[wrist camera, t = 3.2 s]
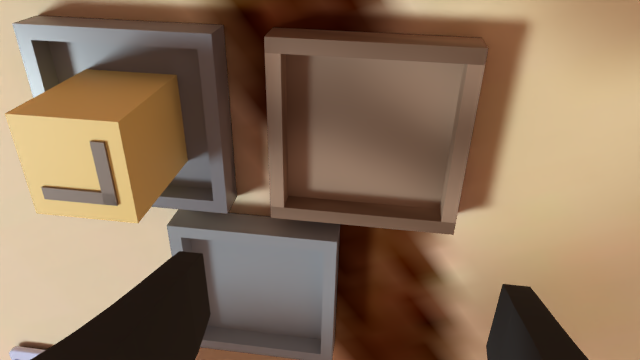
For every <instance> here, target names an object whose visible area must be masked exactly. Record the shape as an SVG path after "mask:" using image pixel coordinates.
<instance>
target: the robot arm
mask: <svg viewBox="0 0 640 360" xmlns="http://www.w3.org/2000/svg"><path fill="white" fill-rule="evenodd" d="M210 315H211V313H210V305H209V298H208V290H207V282H206V274H205V266H204V258H203V253H194V252H184V251H179V252H178V253H176V254H175V255H174V256H173V257H171V258H170V259H169V260H168V261H166V262H165V263H164V264H163V265H161V266H160V267H159V268H158V269H156V270H155V271H154V272H153V273H152V274H150V275H149V276H148V277H147V278H145V279H144V280H143V281H142V282H141V283H139V284H138V285H137V286H136V287H134V288H133V289H132V290H130V291H129V292H128V293H127V294H125V295H124V296H123V297H122V298H120V299H119V300H118V301H116V302H115V303H114V304H113V305H111V306H110V307H109V308H107V309H106V310H104V311H103V312H102V313H100V314H99V315H97V316H96V317H95V318H93V319H92V320H91V321H89V322H88V323H86V324H85V325H84V326H82V327H81V328H79V329H78V330H77V331H75V332H74V333H72V334H71V335H69V336H68V337H66V338H65V339H63V340H61V341H60V342H58V343H57V344H55V345H54V346H52V347H50V348H49V349H47V350H43V349H35V348H27V347H19V346H15V347H13V348H12V349H11V351H10V352H9V354H10V357H11V359H12V360H195V358H196V356H197V354H198V352H199V349H200V346H201V343H202V340H203V337H204V334H205V331H206V327H207V324H208V321H209V318H210ZM486 348H487V358H488V360H588V358H587V357H586V356H585V355H584V354H583V352H582V351H581V350H580V349H579V348H578V347H577V345H576V344H575V343H574V342H573V340H572V339H571V338H570V337H569V336H568V334H567V333H566V332H565V331H564V329H563V328H562V327H561V325H560V324H559V323H558V322H557V320H556V319H555V318H554V317H553V315H552V314H551V313H550V311H549V310H548V309H547V308H546V306H545V305H544V304H543V302H542V301H541V300H540V299H539V297H538V296H537V295H536V294H535V292H534V291H533V290H532V289H531V287H526V286H516V285H507V284H503V285H502V289H501V293H500V296H499V300H498V304H497V308H496V312H495V315H494V319H493V323H492V327H491V331H490V334H489V338H488V342H487V346H486Z"/></svg>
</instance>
